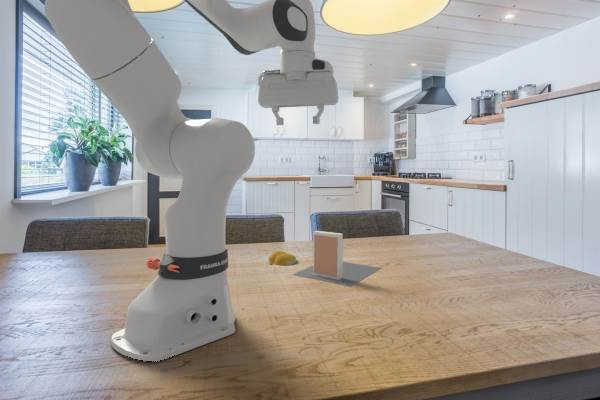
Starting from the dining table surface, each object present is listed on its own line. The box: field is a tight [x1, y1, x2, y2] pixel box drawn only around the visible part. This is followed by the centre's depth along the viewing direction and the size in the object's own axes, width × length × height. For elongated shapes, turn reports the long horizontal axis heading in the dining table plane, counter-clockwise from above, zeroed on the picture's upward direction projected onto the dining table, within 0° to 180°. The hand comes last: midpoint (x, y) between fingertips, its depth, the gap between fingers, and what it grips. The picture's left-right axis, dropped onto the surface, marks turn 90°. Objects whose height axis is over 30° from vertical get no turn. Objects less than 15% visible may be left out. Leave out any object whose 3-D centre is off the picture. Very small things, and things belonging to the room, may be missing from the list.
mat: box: [291, 261, 382, 287], centre depth 103 cm, size 20×18×1 cm
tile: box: [312, 230, 344, 280], centre depth 98 cm, size 2×8×12 cm, turn 55°
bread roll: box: [268, 250, 297, 266], centre depth 114 cm, size 8×9×4 cm
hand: (297, 124), depth 92 cm, fingers open, 8 cm apart
